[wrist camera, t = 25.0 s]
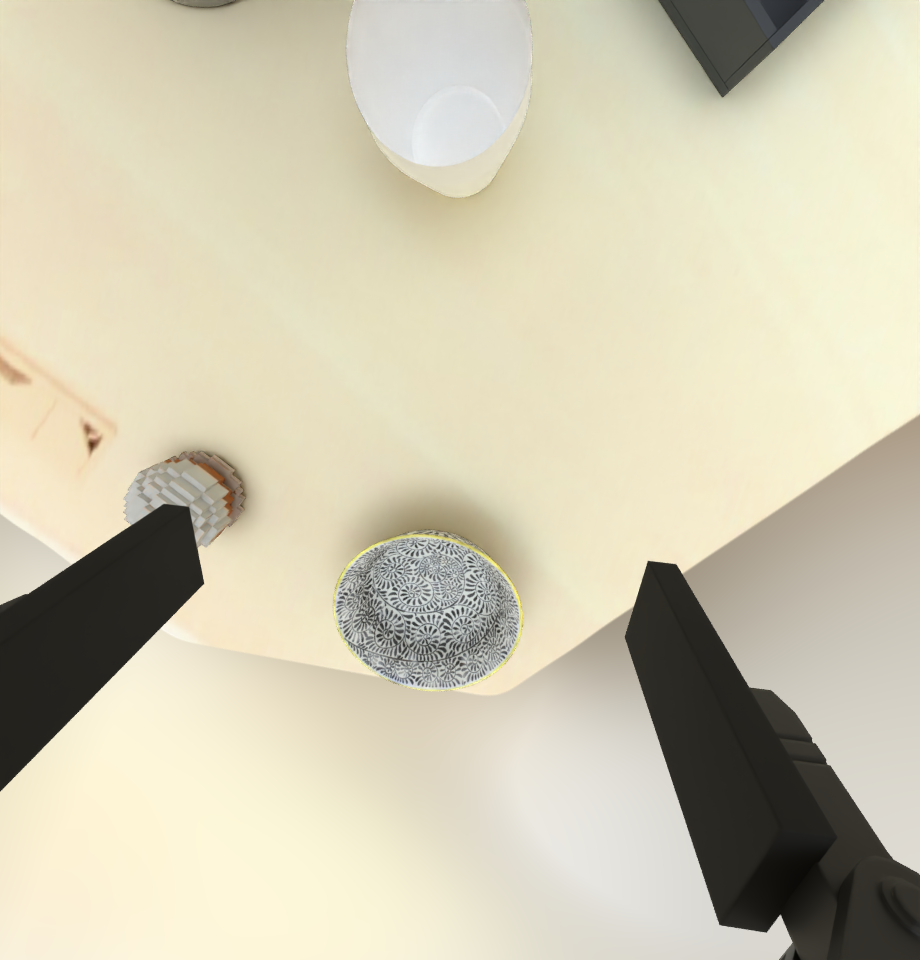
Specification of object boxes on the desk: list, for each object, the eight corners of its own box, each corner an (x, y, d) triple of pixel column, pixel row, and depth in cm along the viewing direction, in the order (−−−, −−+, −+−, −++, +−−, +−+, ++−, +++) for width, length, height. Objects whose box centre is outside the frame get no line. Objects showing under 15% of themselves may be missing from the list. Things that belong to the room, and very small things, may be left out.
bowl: (420, 658, 49) (408, 717, 42) (325, 549, 45) (293, 594, 38) (548, 592, 45) (558, 645, 38) (456, 465, 41) (448, 498, 34)
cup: (417, 42, 30) (370, -114, 19) (542, 93, 31) (569, -31, 19) (381, 191, 33) (323, 131, 22) (495, 235, 34) (494, 198, 23)
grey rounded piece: (154, 489, 44) (-7, 574, 30) (193, 433, 41) (38, 496, 27) (221, 539, 45) (98, 643, 31) (262, 487, 43) (149, 574, 29)
